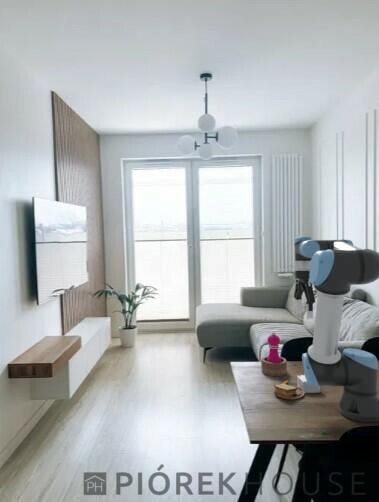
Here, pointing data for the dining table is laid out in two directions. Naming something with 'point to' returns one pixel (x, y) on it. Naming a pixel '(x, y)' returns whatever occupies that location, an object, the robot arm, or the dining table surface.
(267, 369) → the wicker basket
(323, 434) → the dining table surface
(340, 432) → the dining table surface
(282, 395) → the toy sandwich meal
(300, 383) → the small box
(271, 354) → the pepper mill
